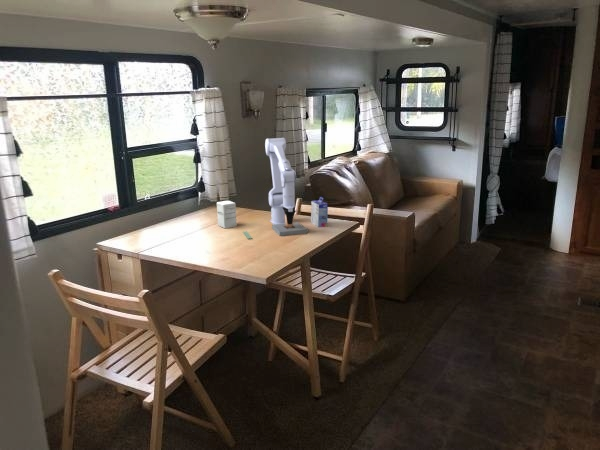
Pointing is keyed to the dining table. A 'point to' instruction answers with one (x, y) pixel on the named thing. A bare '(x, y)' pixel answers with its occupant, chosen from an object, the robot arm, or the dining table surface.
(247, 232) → the mat
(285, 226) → the plug
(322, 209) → the ink cartridge box
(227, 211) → the supplement box
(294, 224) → the grey socket board
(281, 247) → the dining table surface
